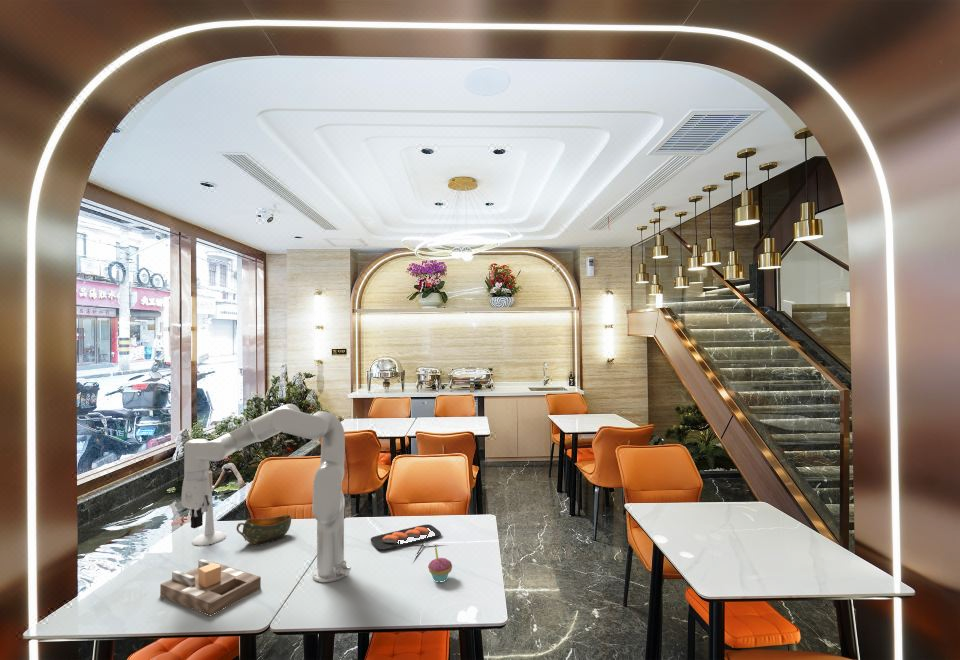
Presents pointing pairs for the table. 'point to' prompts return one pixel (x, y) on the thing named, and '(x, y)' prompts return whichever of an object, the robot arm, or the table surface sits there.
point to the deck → (209, 588)
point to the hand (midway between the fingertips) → (196, 526)
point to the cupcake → (439, 568)
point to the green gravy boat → (265, 529)
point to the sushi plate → (403, 537)
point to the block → (209, 575)
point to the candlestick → (209, 525)
